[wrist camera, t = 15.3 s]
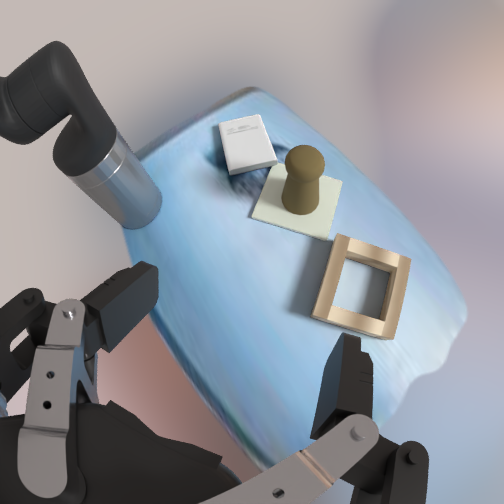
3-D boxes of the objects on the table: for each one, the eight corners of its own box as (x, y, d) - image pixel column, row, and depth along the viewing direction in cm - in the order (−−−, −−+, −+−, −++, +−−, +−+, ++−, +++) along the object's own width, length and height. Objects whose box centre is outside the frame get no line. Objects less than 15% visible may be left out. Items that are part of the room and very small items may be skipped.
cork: (275, 207, 44) (274, 166, 33) (288, 177, 45) (290, 132, 35) (312, 220, 42) (322, 181, 32) (323, 189, 44) (334, 146, 34)
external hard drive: (230, 176, 46) (219, 128, 51) (277, 165, 46) (260, 119, 51) (228, 170, 45) (217, 122, 49) (277, 159, 45) (259, 113, 49)
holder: (310, 317, 38) (312, 314, 36) (333, 240, 42) (337, 233, 39) (385, 340, 36) (393, 339, 33) (403, 264, 40) (411, 258, 37)
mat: (251, 218, 44) (251, 216, 43) (274, 163, 47) (273, 161, 46) (326, 241, 42) (327, 240, 41) (341, 183, 45) (342, 181, 44)
